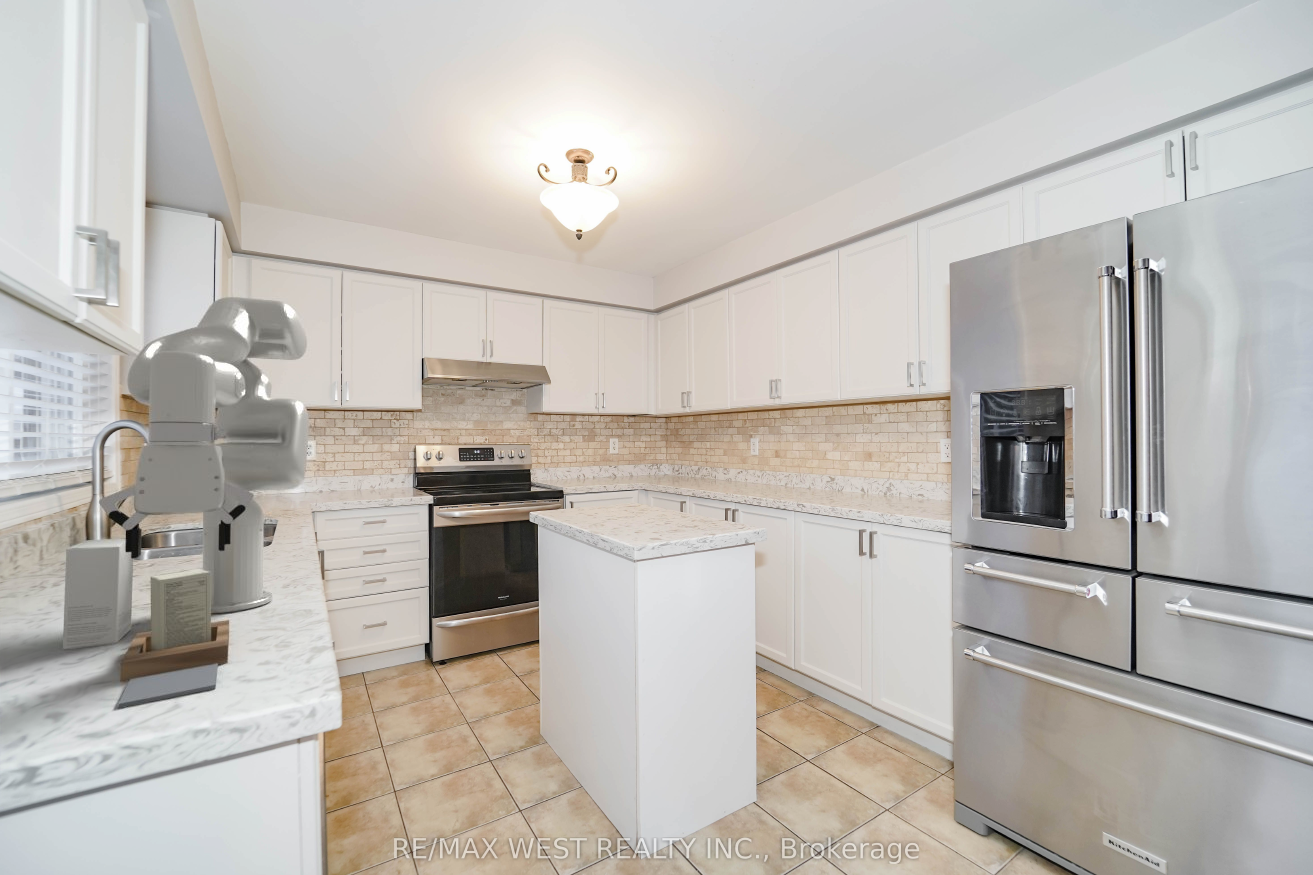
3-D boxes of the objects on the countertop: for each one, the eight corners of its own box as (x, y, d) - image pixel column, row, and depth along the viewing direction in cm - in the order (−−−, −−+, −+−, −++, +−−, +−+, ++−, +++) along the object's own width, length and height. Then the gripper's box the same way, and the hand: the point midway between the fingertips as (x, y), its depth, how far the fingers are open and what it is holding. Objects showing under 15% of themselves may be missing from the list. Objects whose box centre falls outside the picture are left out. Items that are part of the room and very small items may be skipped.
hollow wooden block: (136, 649, 86) (136, 633, 86) (229, 635, 93) (229, 619, 93) (120, 682, 74) (120, 662, 74) (227, 662, 81) (227, 644, 81)
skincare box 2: (202, 647, 87) (202, 567, 88) (212, 653, 85) (213, 571, 85) (148, 659, 82) (149, 575, 82) (157, 666, 80) (158, 579, 80)
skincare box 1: (82, 635, 93) (83, 540, 93) (135, 628, 96) (136, 536, 97) (60, 651, 86) (62, 547, 86) (119, 643, 89) (120, 543, 89)
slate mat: (130, 682, 74) (130, 678, 74) (217, 666, 79) (217, 663, 79) (118, 707, 67) (118, 703, 67) (215, 688, 72) (215, 684, 72)
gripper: (253, 438, 92) (252, 544, 91) (106, 436, 82) (103, 556, 81) (254, 436, 86) (253, 550, 85) (96, 434, 76) (92, 563, 75)
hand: (180, 553), depth 83 cm, fingers open, 9 cm apart
